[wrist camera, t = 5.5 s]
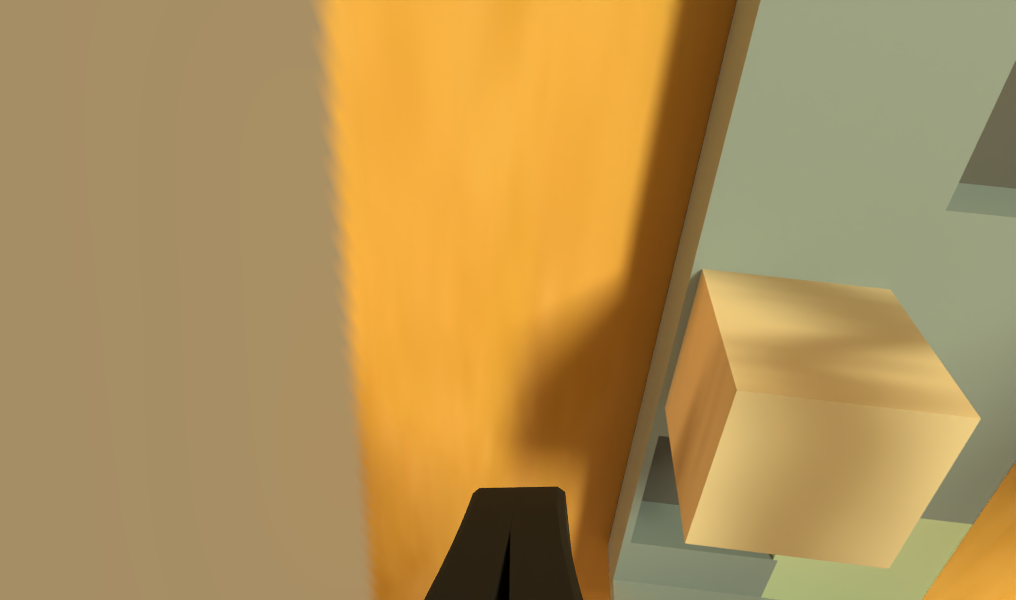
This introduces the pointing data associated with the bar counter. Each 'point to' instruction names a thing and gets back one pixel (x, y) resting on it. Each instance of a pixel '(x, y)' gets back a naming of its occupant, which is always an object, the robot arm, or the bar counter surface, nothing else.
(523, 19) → the bar counter surface
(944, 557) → the board
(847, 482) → the beech block
